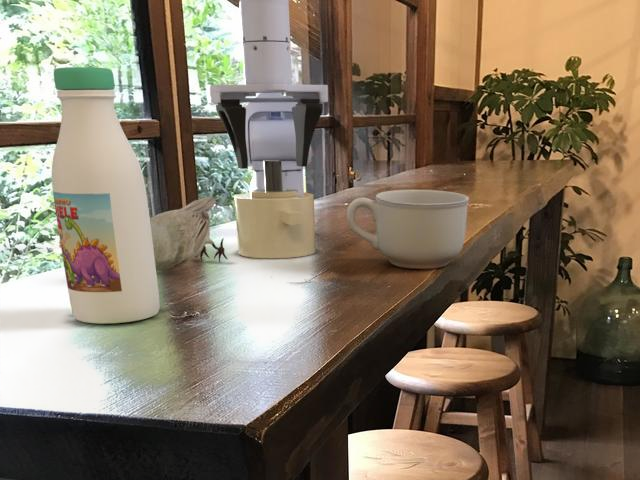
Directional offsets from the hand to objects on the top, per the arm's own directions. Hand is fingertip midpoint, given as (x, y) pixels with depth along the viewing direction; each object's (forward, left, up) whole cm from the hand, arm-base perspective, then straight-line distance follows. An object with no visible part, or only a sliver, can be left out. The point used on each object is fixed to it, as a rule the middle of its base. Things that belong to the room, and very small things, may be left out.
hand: (272, 167), depth 101 cm
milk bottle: (+28, -24, -10) cm, 38 cm away
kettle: (0, 0, -10) cm, 10 cm away
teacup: (+16, +11, -10) cm, 22 cm away
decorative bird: (+8, -15, -10) cm, 20 cm away
